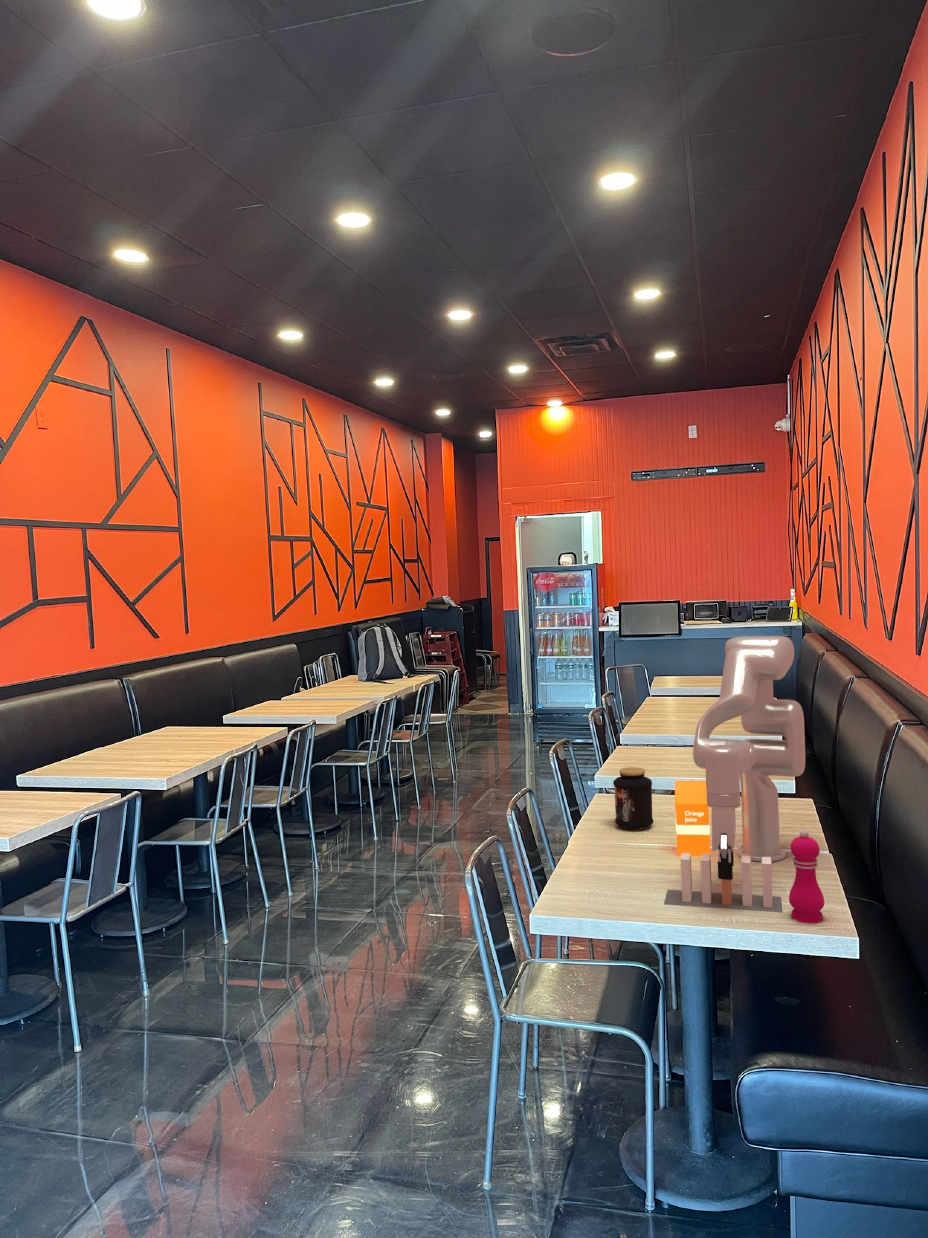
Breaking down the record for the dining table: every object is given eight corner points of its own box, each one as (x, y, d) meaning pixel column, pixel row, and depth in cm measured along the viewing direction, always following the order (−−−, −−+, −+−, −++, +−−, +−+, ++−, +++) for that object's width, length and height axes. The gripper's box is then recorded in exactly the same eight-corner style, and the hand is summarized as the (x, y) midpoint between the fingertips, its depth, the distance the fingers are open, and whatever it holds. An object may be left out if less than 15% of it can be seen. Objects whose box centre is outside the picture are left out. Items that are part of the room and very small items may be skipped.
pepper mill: (816, 913, 195) (813, 824, 194) (830, 925, 188) (828, 833, 187) (784, 915, 195) (781, 826, 194) (797, 927, 187) (794, 835, 187)
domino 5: (763, 907, 198) (762, 863, 198) (763, 899, 203) (761, 856, 202) (772, 907, 197) (771, 864, 197) (772, 900, 202) (770, 857, 202)
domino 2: (702, 903, 202) (700, 860, 202) (703, 895, 207) (701, 853, 207) (711, 903, 202) (709, 861, 201) (711, 896, 206) (710, 854, 206)
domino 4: (742, 905, 200) (741, 862, 199) (742, 898, 204) (741, 855, 204) (751, 906, 199) (750, 863, 199) (751, 898, 204) (750, 856, 203)
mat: (667, 892, 212) (667, 889, 212) (781, 899, 204) (781, 896, 204) (663, 906, 203) (663, 904, 203) (782, 915, 194) (782, 912, 194)
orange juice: (710, 856, 237) (708, 783, 237) (677, 856, 239) (674, 783, 239) (708, 848, 245) (706, 777, 244) (676, 847, 247) (673, 777, 246)
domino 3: (722, 904, 201) (720, 861, 201) (722, 896, 206) (721, 854, 205) (731, 905, 200) (729, 862, 200) (731, 897, 205) (730, 855, 205)
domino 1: (682, 901, 204) (680, 859, 203) (683, 894, 208) (682, 852, 208) (691, 902, 203) (689, 859, 203) (692, 894, 208) (690, 853, 208)
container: (658, 831, 263) (654, 772, 262) (618, 833, 263) (614, 774, 263) (650, 821, 275) (647, 764, 275) (612, 823, 275) (609, 767, 275)
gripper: (708, 789, 212) (710, 860, 212) (704, 808, 195) (707, 884, 196) (740, 790, 209) (743, 861, 210) (739, 809, 193) (742, 886, 193)
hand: (726, 872), depth 203 cm, fingers open, 9 cm apart
